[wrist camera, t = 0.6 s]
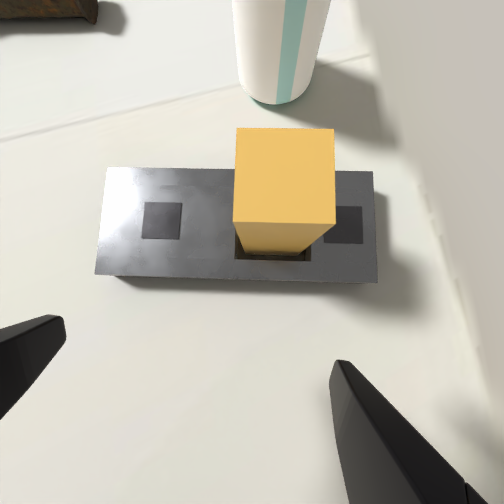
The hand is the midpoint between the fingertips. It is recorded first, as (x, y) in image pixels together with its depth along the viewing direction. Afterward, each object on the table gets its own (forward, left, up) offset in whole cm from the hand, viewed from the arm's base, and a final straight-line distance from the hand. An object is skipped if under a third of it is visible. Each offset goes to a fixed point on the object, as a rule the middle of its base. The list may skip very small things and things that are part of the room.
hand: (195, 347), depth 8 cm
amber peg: (+7, -3, -13) cm, 15 cm away
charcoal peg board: (+7, 0, -13) cm, 15 cm away
